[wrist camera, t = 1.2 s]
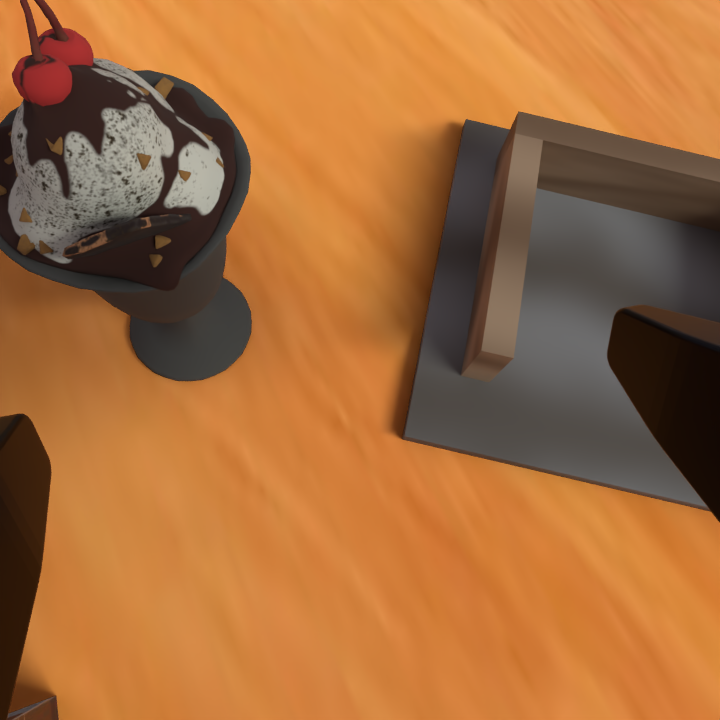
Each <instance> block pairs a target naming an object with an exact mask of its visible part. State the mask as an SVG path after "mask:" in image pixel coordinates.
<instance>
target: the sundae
mask: <svg viewBox="0 0 720 720" xmlns="http://www.w3.org/2000/svg"><path fill="white" fill-rule="evenodd" d="M35 2H36V3H37V4H38V6H39V7H40V8H41V10H42V12H43V13H44V15H45V16H46V18H47V19H48V20H49V22H50V24H51V26H52V28H53V29H49V30H47V31H45V32H44V33H43V34H41V35H40V36H39V37H38V36H37V31H36V26H35V23H34V19H33V16H32V12H31V9H30V7H29V4H28V2H27V0H20V3H21V6H22V8H23V10H24V13H25V17H26V23H27V28H28V33H29V38H30V45H31V52H32V55H29V56H25V57H23V58H21V59H20V60H19V61H18V63H17V65H16V67H15V69H14V71H13V73H12V78H13V82H14V84H15V86H16V88H17V90H18V91H19V93H20V95H21V96H22V97H23V98H24V100H23V102H22V103H21V105H20V106H19V107H18V108H16V109H14V110H13V111H11V112H10V113H9V114H8V115H7V116H6V117H5V119H4V120H3V121H2V122H1V123H0V249H1V250H2V251H3V252H4V253H5V254H6V255H7V256H8V257H9V258H11V259H12V260H13V261H15V262H16V263H18V264H19V265H21V266H22V267H23V268H25V269H26V270H28V271H30V272H32V273H35V274H37V275H40V276H42V277H45V278H47V279H50V280H53V281H56V282H59V283H63V284H66V285H69V286H73V287H76V288H80V289H88V290H93V291H95V292H96V293H97V294H98V295H100V296H101V297H102V298H103V299H105V300H106V301H107V302H109V303H110V304H111V305H113V306H114V307H116V308H118V309H120V310H121V311H123V312H125V313H127V314H129V315H131V321H130V339H131V342H132V345H133V348H134V350H135V352H136V354H137V356H138V358H139V359H140V360H141V361H142V362H143V363H144V364H145V365H146V366H147V367H148V368H149V369H151V370H152V371H153V372H154V373H156V374H159V375H161V376H163V377H166V378H169V379H173V380H176V381H196V380H203V379H206V378H209V377H212V376H214V375H216V374H218V373H220V372H222V371H224V370H226V369H227V368H228V367H229V366H230V365H232V364H233V363H234V362H235V361H236V360H237V359H238V358H239V356H240V355H241V354H242V353H243V351H244V349H245V347H246V345H247V343H248V340H249V337H250V334H251V324H252V321H251V311H250V309H249V306H248V303H247V301H246V299H245V298H244V296H243V294H242V293H241V292H240V291H239V290H238V289H237V288H236V287H235V286H234V285H233V284H232V283H230V282H229V281H228V280H226V279H225V278H223V272H224V266H225V259H226V235H227V234H228V233H229V231H230V229H231V227H232V225H233V223H234V221H235V219H236V218H237V216H238V214H239V212H240V210H241V207H242V205H243V203H244V200H245V198H246V195H247V193H248V188H249V181H250V174H251V165H250V156H249V152H248V149H247V146H246V144H245V142H244V140H243V138H242V136H241V134H240V132H239V130H238V129H237V127H236V126H235V124H234V123H233V122H232V120H231V119H230V117H229V116H228V114H227V113H226V112H225V111H224V110H223V109H222V108H221V107H220V106H219V105H218V104H217V103H216V102H215V101H214V100H213V99H211V98H210V97H209V96H207V95H206V94H205V93H203V92H202V91H201V90H200V89H198V88H197V87H196V86H194V85H193V84H190V83H188V82H185V81H183V80H181V79H178V78H176V77H174V76H171V75H167V74H163V73H158V72H154V71H150V70H145V71H133V70H131V69H129V68H125V67H124V66H121V65H119V64H116V63H114V62H112V61H109V60H106V59H97V58H93V52H92V49H91V46H90V44H89V43H88V42H87V40H86V39H85V38H84V37H82V36H81V35H80V34H78V33H77V32H75V31H73V30H71V29H66V28H62V26H61V25H60V23H59V21H58V19H57V18H56V16H55V14H54V12H53V11H52V10H51V8H50V7H49V6H48V5H47V3H46V2H45V1H44V0H35Z"/></svg>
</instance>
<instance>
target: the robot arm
mask: <svg viewBox="0 0 720 720" xmlns="http://www.w3.org/2000/svg"><path fill="white" fill-rule="evenodd" d="M607 360H608V363H609V366H610V368H611V370H612V371H613V373H614V375H615V376H616V378H617V379H618V381H619V383H620V384H621V386H622V387H623V389H624V391H625V392H626V394H627V396H628V397H629V399H630V400H631V402H632V404H633V405H634V407H635V408H636V410H637V412H638V413H639V415H640V416H641V418H642V420H643V421H644V423H645V425H646V426H647V428H648V429H649V431H650V432H651V434H652V435H653V437H654V438H655V440H656V441H657V442H658V444H659V445H660V446H661V448H662V449H663V450H664V452H665V453H666V454H667V456H668V457H669V458H670V459H671V461H672V462H673V463H674V465H675V466H676V467H677V468H678V470H679V471H680V472H681V474H682V475H683V476H684V477H685V479H686V480H687V481H688V483H689V484H690V485H691V486H692V488H693V489H694V490H695V492H696V493H697V494H698V495H699V497H700V498H701V499H702V501H703V502H704V503H705V504H706V506H707V507H708V508H709V510H710V511H711V512H712V513H713V515H714V516H715V517H716V519H717V520H718V521H719V522H720V323H718V322H714V321H710V320H706V319H702V318H698V317H693V316H689V315H685V314H681V313H677V312H673V311H669V310H665V309H661V308H656V307H652V306H648V305H635V306H630V307H624V308H621V309H619V310H618V311H617V312H616V313H615V315H614V318H613V323H612V328H611V333H610V338H609V344H608V349H607ZM50 482H51V464H50V460H49V457H48V455H47V452H46V450H45V448H44V446H43V444H42V442H41V440H40V438H39V436H38V433H37V431H36V429H35V427H34V425H33V423H32V421H31V420H30V418H29V417H28V416H26V415H24V414H14V415H9V416H3V417H0V720H7V718H8V714H9V709H10V705H11V701H12V696H13V692H14V688H15V683H16V679H17V674H18V670H19V666H20V661H21V657H22V653H23V648H24V644H25V640H26V635H27V631H28V627H29V622H30V618H31V614H32V609H33V605H34V601H35V596H36V592H37V588H38V583H39V578H40V573H41V568H42V560H43V552H44V542H45V532H46V522H47V512H48V502H49V492H50Z"/></svg>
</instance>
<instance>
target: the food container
mask: <svg viewBox="0 0 720 720" xmlns="http://www.w3.org/2000/svg"><path fill="white" fill-rule="evenodd" d="M7 720H59V719H58V709H57V699H56V696H54V697H51V698H49V699H46V700H43V701H41V702H38V703H35V704H33V705H30V706H27V707H25V708H22V709H20V710H17V711H14V712H12V713H9V714H8V718H7Z"/></svg>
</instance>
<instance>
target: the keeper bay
mask: <svg viewBox="0 0 720 720" xmlns="http://www.w3.org/2000/svg"><path fill="white" fill-rule="evenodd" d="M635 305H648V306H652V307H656V308H661V309H665V310H669V311H673V312H677V313H681V314H685V315H689V316H693V317H698V318H702V319H706V320H710V321H714V322H718V323H720V159H716V158H712V157H708V156H704V155H699V154H695V153H691V152H687V151H683V150H679V149H674V148H670V147H666V146H662V145H658V144H653V143H649V142H645V141H641V140H637V139H632V138H628V137H624V136H620V135H616V134H612V133H607V132H603V131H599V130H595V129H591V128H586V127H582V126H578V125H574V124H570V123H565V122H561V121H557V120H553V119H549V118H545V117H540V116H536V115H532V114H528V113H524V112H518V114H517V116H516V118H515V120H514V122H513V124H512V127H511V129H510V130H509V129H505V128H501V127H497V126H492V125H488V124H484V123H480V122H476V121H471V120H467V119H466V120H465V123H464V126H463V130H462V135H461V140H460V145H459V150H458V155H457V160H456V166H455V171H454V176H453V181H452V186H451V191H450V196H449V201H448V207H447V212H446V217H445V222H444V227H443V232H442V237H441V242H440V248H439V253H438V258H437V263H436V268H435V273H434V278H433V283H432V289H431V294H430V299H429V304H428V309H427V314H426V319H425V324H424V329H423V335H422V340H421V345H420V350H419V355H418V360H417V365H416V370H415V376H414V381H413V386H412V391H411V396H410V401H409V406H408V411H407V417H406V422H405V427H404V432H403V437H402V439H403V440H407V441H412V442H416V443H420V444H425V445H429V446H433V447H437V448H442V449H446V450H450V451H454V452H459V453H463V454H467V455H472V456H476V457H480V458H484V459H489V460H493V461H497V462H502V463H506V464H510V465H514V466H519V467H523V468H527V469H531V470H536V471H540V472H544V473H549V474H553V475H557V476H561V477H566V478H570V479H574V480H578V481H583V482H587V483H591V484H596V485H600V486H604V487H608V488H613V489H617V490H621V491H626V492H630V493H634V494H638V495H643V496H647V497H651V498H655V499H660V500H664V501H668V502H673V503H677V504H681V505H685V506H690V507H694V508H698V509H703V510H707V511H710V510H709V508H708V507H707V506H706V504H705V503H704V502H703V501H702V499H701V498H700V497H699V495H698V494H697V493H696V492H695V490H694V489H693V488H692V486H691V485H690V484H689V483H688V481H687V480H686V479H685V477H684V476H683V475H682V474H681V472H680V471H679V470H678V468H677V467H676V466H675V465H674V463H673V462H672V461H671V459H670V458H669V457H668V456H667V454H666V453H665V452H664V450H663V449H662V448H661V446H660V445H659V444H658V442H657V441H656V440H655V438H654V437H653V435H652V434H651V432H650V431H649V429H648V428H647V426H646V425H645V423H644V421H643V420H642V418H641V416H640V415H639V413H638V412H637V410H636V408H635V407H634V405H633V404H632V402H631V400H630V399H629V397H628V396H627V394H626V392H625V391H624V389H623V387H622V386H621V384H620V383H619V381H618V379H617V378H616V376H615V375H614V373H613V371H612V370H611V368H610V366H609V363H608V360H607V349H608V344H609V338H610V333H611V328H612V323H613V318H614V315H615V313H616V312H617V311H618V310H619V309H621V308H624V307H630V306H635Z"/></svg>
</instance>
